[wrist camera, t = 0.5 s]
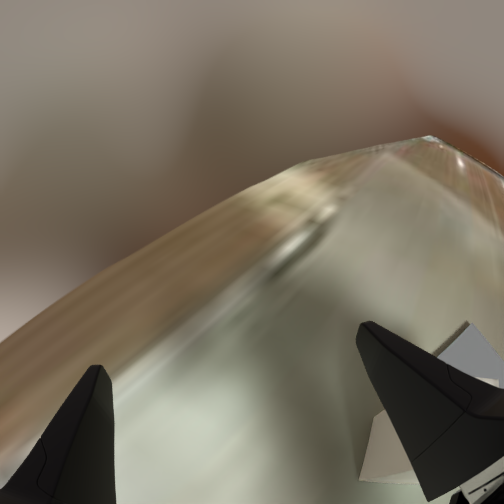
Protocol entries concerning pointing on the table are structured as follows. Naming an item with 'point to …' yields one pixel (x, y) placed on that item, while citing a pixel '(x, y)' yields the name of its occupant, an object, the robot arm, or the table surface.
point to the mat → (474, 356)
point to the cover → (390, 452)
